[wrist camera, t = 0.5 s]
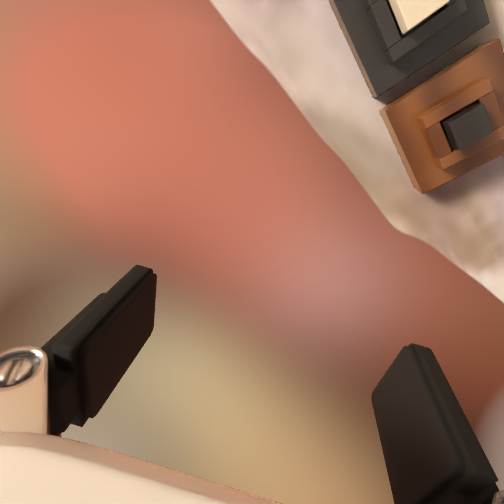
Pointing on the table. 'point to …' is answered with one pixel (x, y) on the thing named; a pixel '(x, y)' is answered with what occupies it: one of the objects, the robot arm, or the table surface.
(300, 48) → the table surface
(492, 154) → the block walnut
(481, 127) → the key ebony
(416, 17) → the key ivory
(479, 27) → the block black
